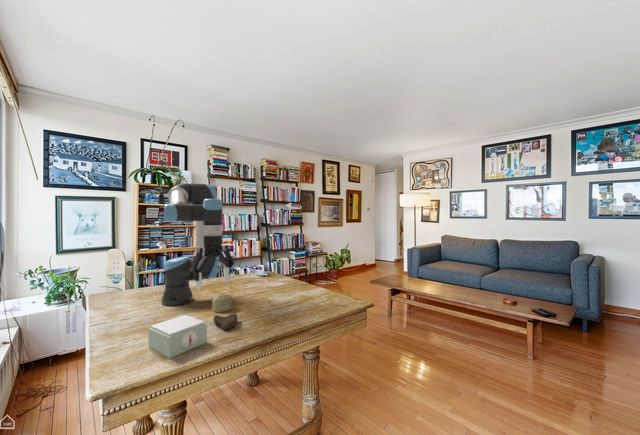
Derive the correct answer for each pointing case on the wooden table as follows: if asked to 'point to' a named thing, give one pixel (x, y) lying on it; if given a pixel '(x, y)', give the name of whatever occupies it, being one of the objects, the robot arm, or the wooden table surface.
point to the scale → (177, 335)
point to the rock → (226, 321)
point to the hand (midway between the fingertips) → (213, 285)
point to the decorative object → (221, 302)
